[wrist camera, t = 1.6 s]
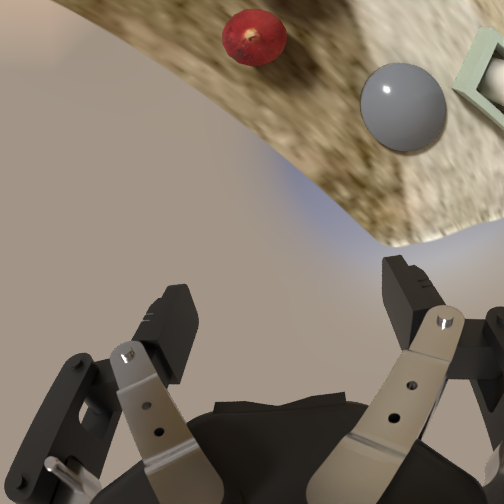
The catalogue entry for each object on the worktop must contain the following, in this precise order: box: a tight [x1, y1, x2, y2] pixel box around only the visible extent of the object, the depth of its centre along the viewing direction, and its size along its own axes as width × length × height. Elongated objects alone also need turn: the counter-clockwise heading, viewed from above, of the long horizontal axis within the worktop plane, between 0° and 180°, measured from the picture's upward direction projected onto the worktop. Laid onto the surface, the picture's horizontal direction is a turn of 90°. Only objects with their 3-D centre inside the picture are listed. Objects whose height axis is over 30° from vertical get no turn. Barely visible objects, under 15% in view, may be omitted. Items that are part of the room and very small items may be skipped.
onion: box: [222, 9, 287, 66], centre depth 24 cm, size 6×6×8 cm
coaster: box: [360, 63, 446, 151], centre depth 29 cm, size 10×10×1 cm
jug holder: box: [452, 27, 504, 131], centre depth 24 cm, size 9×9×3 cm
